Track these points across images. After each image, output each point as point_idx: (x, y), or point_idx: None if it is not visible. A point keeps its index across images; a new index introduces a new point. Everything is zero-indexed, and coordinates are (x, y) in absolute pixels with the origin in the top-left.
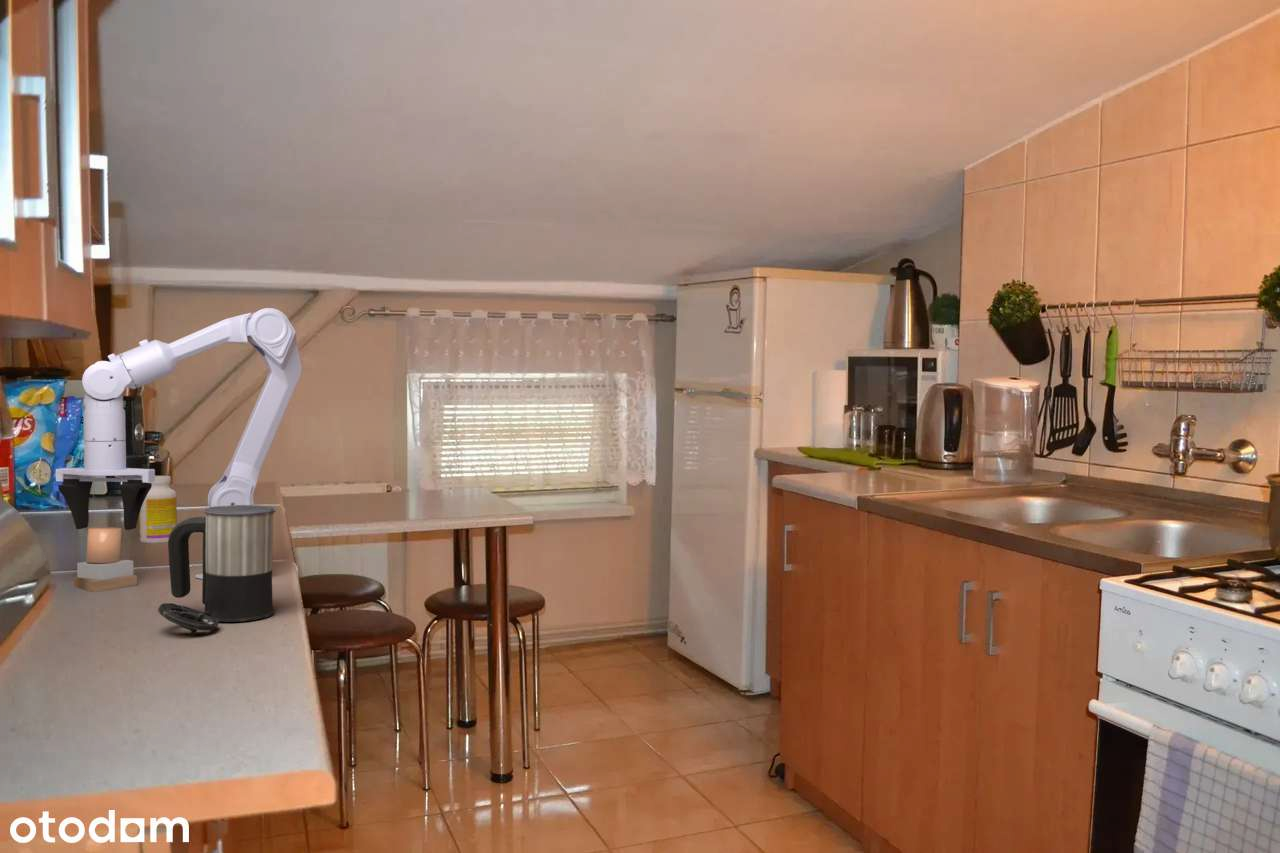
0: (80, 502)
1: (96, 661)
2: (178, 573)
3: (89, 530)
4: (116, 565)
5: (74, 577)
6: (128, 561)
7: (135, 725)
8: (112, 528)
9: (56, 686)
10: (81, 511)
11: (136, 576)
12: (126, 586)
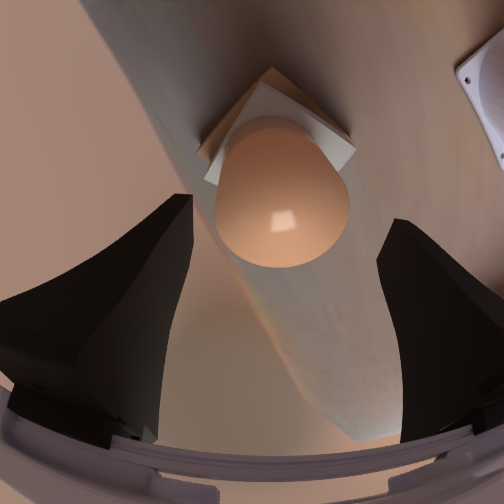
0: (160, 325)
1: (364, 401)
2: None
3: (239, 253)
4: None
5: (199, 156)
6: (346, 159)
7: (386, 425)
8: (310, 198)
9: (350, 417)
10: (172, 282)
11: (356, 147)
12: None
